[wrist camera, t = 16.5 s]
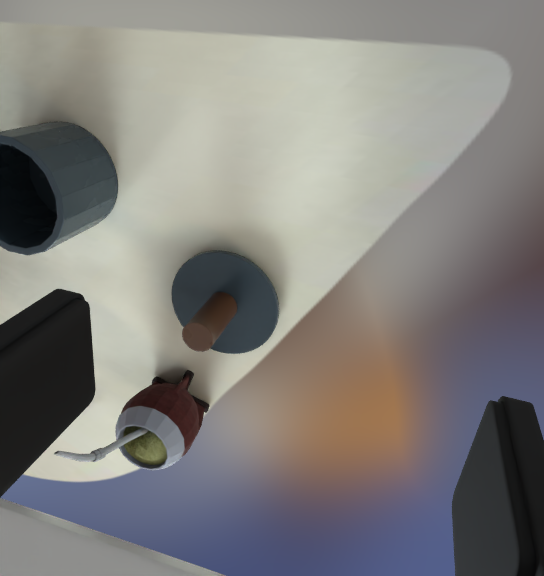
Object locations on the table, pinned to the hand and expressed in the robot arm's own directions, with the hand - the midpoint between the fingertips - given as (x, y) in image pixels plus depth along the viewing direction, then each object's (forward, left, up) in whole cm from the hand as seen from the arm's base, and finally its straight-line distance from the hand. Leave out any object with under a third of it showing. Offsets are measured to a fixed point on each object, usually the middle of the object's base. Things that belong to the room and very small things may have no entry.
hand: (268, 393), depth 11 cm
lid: (+14, -11, -28) cm, 33 cm away
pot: (+6, -26, -28) cm, 38 cm away
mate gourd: (+26, -15, -28) cm, 41 cm away
